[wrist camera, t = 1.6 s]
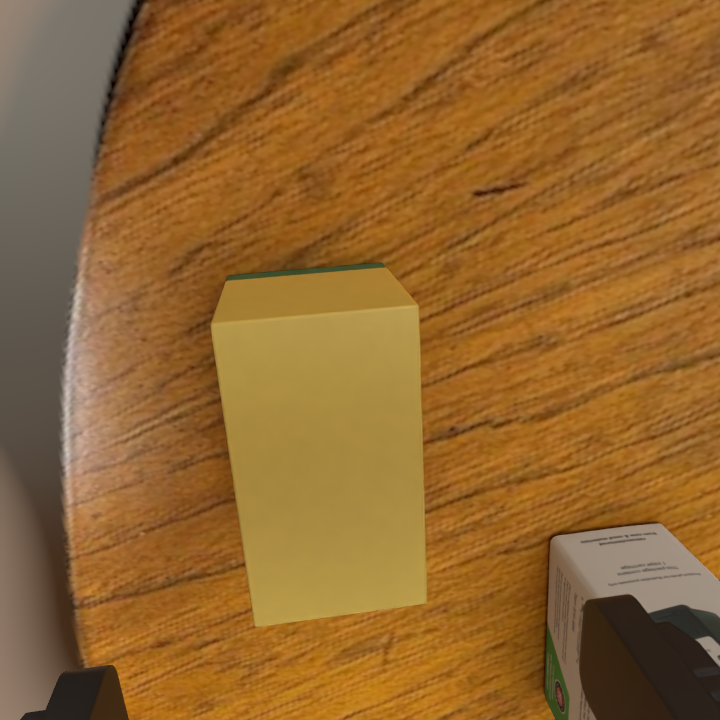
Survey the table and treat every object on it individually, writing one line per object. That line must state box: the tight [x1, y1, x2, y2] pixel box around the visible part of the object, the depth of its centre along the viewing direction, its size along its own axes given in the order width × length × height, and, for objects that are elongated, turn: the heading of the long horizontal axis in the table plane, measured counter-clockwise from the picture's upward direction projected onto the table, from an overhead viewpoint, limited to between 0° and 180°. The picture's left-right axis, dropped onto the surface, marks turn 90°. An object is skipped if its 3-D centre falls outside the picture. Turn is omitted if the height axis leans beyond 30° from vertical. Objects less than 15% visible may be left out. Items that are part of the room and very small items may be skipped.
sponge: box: [210, 263, 427, 627], centre depth 19 cm, size 9×5×6 cm, turn 3°
